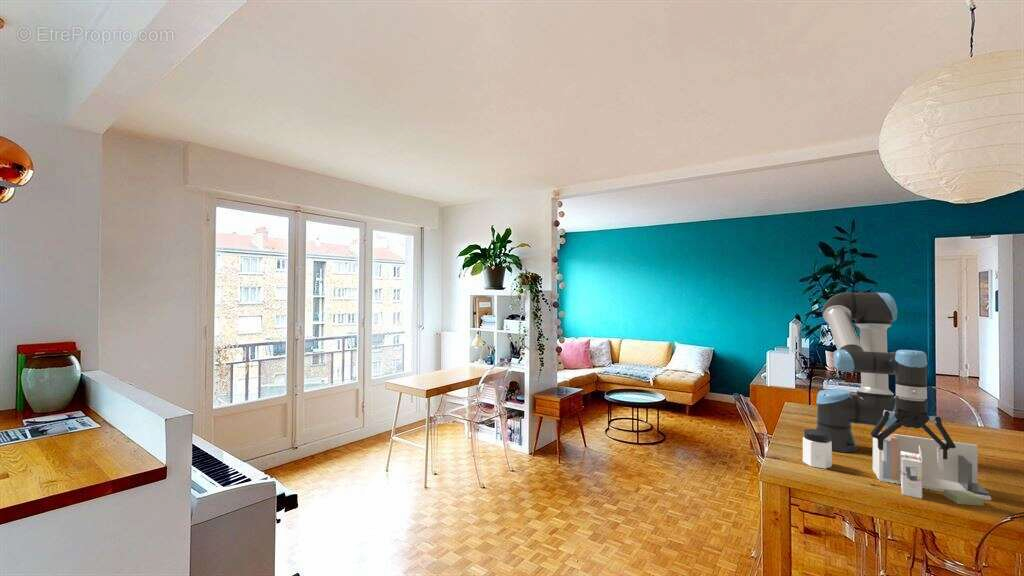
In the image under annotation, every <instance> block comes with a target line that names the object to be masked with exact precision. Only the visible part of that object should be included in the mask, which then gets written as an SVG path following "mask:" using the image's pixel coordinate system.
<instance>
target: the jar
mask: <svg viewBox="0 0 1024 576" xmlns="http://www.w3.org/2000/svg"><path fill="white" fill-rule="evenodd" d="M832 455H833V451H832V441H830V434H829V433H828V432H825V431H822V430H817V429H815V428H806V429H804V430H803V437H802V462H803V463H804V464H806V465H808V466H809V467H813V468H819V469H823V470H826V469H828V468H829V469H830V468H831V467H832V465H833V463H832V462H833V460H832V459H833V456H832Z"/></svg>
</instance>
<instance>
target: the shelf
mask: <svg viewBox="0 0 1024 576" xmlns="http://www.w3.org/2000/svg"><path fill="white" fill-rule="evenodd" d="M882 432H883V431H880V433H882ZM880 433H879V434H880ZM879 434H878V435H879ZM940 440H941V441H942V442H943V443H944V444H945V443H947V442H946V441H945V439H940ZM885 441H886V442H887V462H885V461H883V460H882V450H879V449H878V439H876V438H874V437H872V471H873V473H874V475H875V474H876V475H875V476H876V477H877V480H878V479H879V480H878V481H879V482H883V481H884V482H883V483H888V482H890V483H889V484H894V483H896V484H895V485H900V484H901V451H904V452H909V453H914V454H919V446H920V449H921V452H922V489H923V488H924V489H923V490H928V489H929V490H930V491H935V492H939V493H944V489H948V490H963V491H967V490H966V489H965V488H964V487H963V486H962V485H961V484H960V483H959V482H958V455H961V456H963V457H965V458H966V459H967V460H968V461H969V462H970V463H972V483H977V484H979V482H978V481H979V480H978V464H979V463H978V460H979V459H978V456H979V455H978V454H979V453H978V452H979V451H978V449H979V448H978V447H979V446H978V445H977V444H973V443H966V442H958V441H953V443H954V444H955V446H956V448H950V449H948V450H947V460H946V459H943V470H939V469H938V468H937V447H941V446H940V445H939V444H938V443H937V442H936V441H935V440H934V439H933V438H927V437H920V436H913V435H904V434H897V433H894V432H893V433H892V434H890V435H889V436H888V437H887V438H885ZM972 493H974V492H972ZM974 494H976V495H978V496H980V497H982V498H984V501H985V500H986V501H992V496H991V495H985V494H980V493H974Z"/></svg>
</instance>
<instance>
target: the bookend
mask: <svg viewBox="0 0 1024 576" xmlns="http://www.w3.org/2000/svg"><path fill="white" fill-rule="evenodd" d="M958 482H959V483H960V484H961V485H962V486H963V487H964V488H965V489H966V490H967V491H970V492H974V493H980V494H985V495H989V496H991V493H990V492H989V491H988V490H986V489H985V488H984V487H983V486H982V485H981V484H980V483H978V484H977V483H972V463H970V462H969V461H968V460H967V459H966V458H965V457H963V456H961V455H958Z"/></svg>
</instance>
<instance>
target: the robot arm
mask: <svg viewBox="0 0 1024 576" xmlns="http://www.w3.org/2000/svg"><path fill="white" fill-rule="evenodd" d="M821 312H822V313H821V314H822V318H823V319H824V322H825V323H827V324H828V327H829V330H830V333H831V336H832V338H833V341H834V344H835V347H836V349H837V350H834V352H833V359H832V360H833V367H834V369H836V370H837V371H840V372H847V373H860V383H861V385H860V387H859V388H858V389H856V394H853V393H852V392H851V390H848V389H841V388H829V389H822V390H819V391H818V392H817V396H816V401H815V402H816V426H815V428H814V429H817V430H822V431H825V432H828V433H829V434H830V441H832V452H838V453H840V452H841V453H854V452H857V451H858V448H857V446H858V445H857V442H856V439H855V437H854V434H853V431H852V424H857V425H865V426H874V427H873V428H872V430H871V432H870V436H871V437H872V438H873V437H874V438H876V439H878V449H879V450H882V460H883V461H885V462H887V442H886V441H885V438H887V437H888V436H889V435H890V434H892V433H893V434H894V433H895V431H897V430H898V429H899V428H902V427H905V428H914V429H916V430H917V429H921V428H922V429H923V430H924V431H925V432H926V433H927V435H929V436H930V437H931V439H934V440H935V441H936V442H937V443H938V444H939V445H940V446H941V447H937V468H938V469H939V470H943V459H946V460H947V450H948V449H950V448H956V446H955V444H954V443H953V442H954V441H953V440H952V438H951V437H950V435H949V434H948V431H947V430H946V429H945V427H944V426H943V423H942V418H941V417H940V416H938V415H936V414H935V415H928V402H927V401H926V400H927V399H928V390H927V389H928V388H927V387H928V364H929V363H928V359H927V354H926V352H925V351H921V350H913V349H912V350H911V349H898V350H896V351H892V352H888V335H887V334H888V333H887V332H888V331H887V330H888V329H889V328H891V327H892V322H895V321H897V319H898V316H897V315H898V307H897V304H896V301H895V299H894V297H893V296H892V295H891V294H890V293H887V292H877V291H876V292H873V291H871V292H865V291H864V292H863V291H862V292H849V291H847V292H839V293H836V294H834V295H833V296H831V297H829V299H827V300H826V301H825V303H824V304H823V306H822V311H821ZM853 321H854V323H853ZM854 325H855V326H856V327H858V329H859V336H858V333H857V332H856V329H855V326H854ZM889 375H891V376H893V375H894V376H895V394H894V393H893V392H892V391H891V390H890V389H889ZM895 395H896V397H895ZM929 421H931V423H933V424H934V425H935V427H936V428H937V430H938V431H939V433H940V434H941V436H942V437H943V440H944V441H946V442H947V443H945V444H944V443H943V442H942V441H941V440H942V439H940V438H939V437H938V436H937V434H935V433H934V432H933V431H932V430H931V428H929V427H928V425H926V424H927V423H928V422H929ZM884 428H885V429H884ZM882 429H884V430H882ZM880 432H882V433H880ZM879 433H880V434H879ZM878 434H879V435H878Z"/></svg>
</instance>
